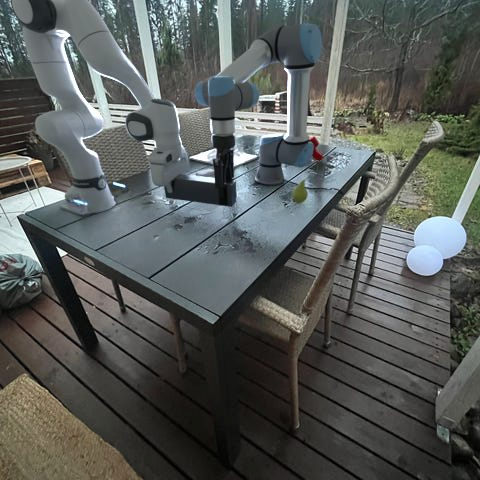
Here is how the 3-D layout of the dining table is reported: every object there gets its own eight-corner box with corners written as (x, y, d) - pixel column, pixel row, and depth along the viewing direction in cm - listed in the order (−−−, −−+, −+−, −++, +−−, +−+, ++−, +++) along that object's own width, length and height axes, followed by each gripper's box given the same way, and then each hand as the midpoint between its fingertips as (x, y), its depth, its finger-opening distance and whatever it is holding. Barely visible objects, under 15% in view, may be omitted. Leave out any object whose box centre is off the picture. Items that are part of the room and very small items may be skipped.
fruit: (288, 200, 123) (290, 174, 116) (302, 197, 125) (305, 172, 119) (296, 206, 118) (299, 179, 111) (310, 203, 120) (314, 177, 114)
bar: (236, 201, 99) (235, 180, 94) (232, 207, 95) (231, 184, 91) (172, 193, 106) (169, 172, 101) (165, 197, 102) (162, 176, 98)
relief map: (231, 168, 161) (231, 160, 158) (189, 159, 179) (189, 151, 176) (257, 158, 179) (257, 150, 176) (217, 150, 197) (216, 142, 194)
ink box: (211, 191, 132) (209, 167, 125) (218, 194, 129) (216, 170, 122) (197, 196, 127) (194, 172, 120) (204, 199, 124) (201, 174, 117)
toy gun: (327, 156, 170) (314, 135, 166) (326, 157, 167) (314, 136, 163) (301, 171, 180) (289, 151, 176) (301, 173, 177) (288, 153, 173)
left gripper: (176, 144, 103) (180, 178, 111) (144, 158, 87) (152, 198, 94) (191, 145, 102) (194, 180, 109) (161, 160, 85) (168, 200, 93)
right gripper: (222, 127, 93) (224, 191, 106) (200, 139, 79) (206, 211, 91) (243, 128, 91) (243, 193, 104) (224, 140, 77) (227, 214, 89)
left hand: (174, 189), depth 102 cm, fingers closed on bar, 4 cm apart
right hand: (225, 201), depth 97 cm, fingers closed on bar, 5 cm apart
